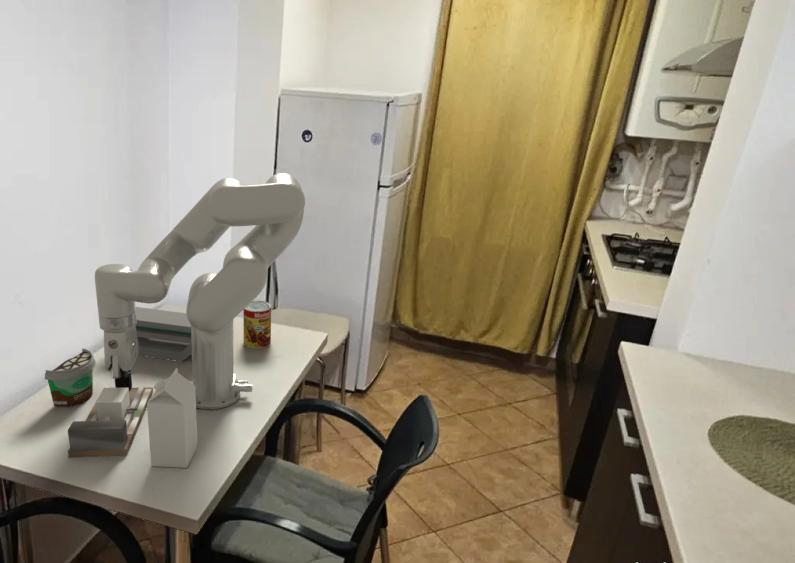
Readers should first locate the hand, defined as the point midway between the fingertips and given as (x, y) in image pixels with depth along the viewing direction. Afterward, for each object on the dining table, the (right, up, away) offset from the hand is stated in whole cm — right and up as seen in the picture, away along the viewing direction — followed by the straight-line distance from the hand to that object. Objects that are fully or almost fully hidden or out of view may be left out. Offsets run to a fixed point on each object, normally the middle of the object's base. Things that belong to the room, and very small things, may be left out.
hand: (124, 389), depth 131 cm
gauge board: (+1, -6, -7) cm, 9 cm away
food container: (-10, -2, +1) cm, 11 cm away
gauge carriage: (+2, -4, -7) cm, 8 cm away
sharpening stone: (0, +5, +25) cm, 25 cm away
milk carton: (+18, -11, -16) cm, 26 cm away
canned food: (+23, +7, +35) cm, 42 cm away
